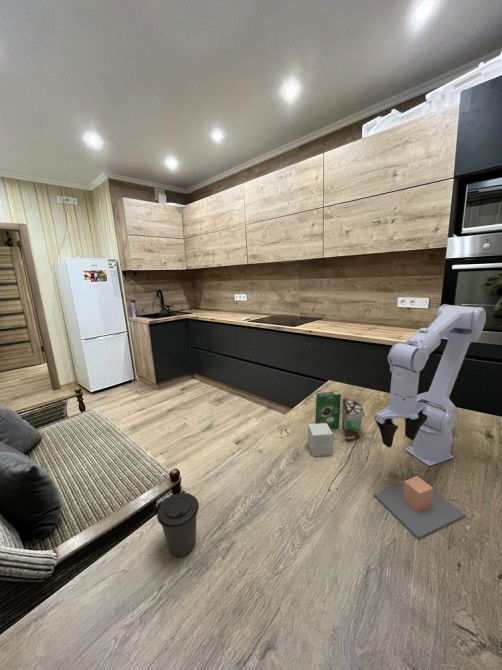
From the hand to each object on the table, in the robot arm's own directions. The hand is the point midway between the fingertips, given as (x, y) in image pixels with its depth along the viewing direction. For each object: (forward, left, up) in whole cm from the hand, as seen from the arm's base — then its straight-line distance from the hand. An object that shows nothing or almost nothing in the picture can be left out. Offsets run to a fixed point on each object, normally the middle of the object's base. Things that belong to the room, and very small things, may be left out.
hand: (398, 441), depth 71 cm
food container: (-3, -20, -11) cm, 23 cm away
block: (+3, +9, -10) cm, 13 cm away
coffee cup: (+55, -2, -11) cm, 56 cm away
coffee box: (+3, -26, -11) cm, 28 cm away
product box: (+12, -17, -11) cm, 23 cm away
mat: (+3, +9, -10) cm, 14 cm away
